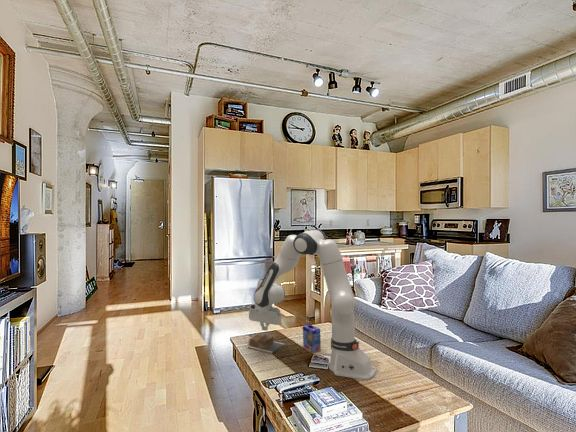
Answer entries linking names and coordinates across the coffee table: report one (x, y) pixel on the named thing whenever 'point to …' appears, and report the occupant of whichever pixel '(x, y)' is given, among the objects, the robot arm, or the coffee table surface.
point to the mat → (270, 349)
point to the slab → (261, 341)
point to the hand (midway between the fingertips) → (264, 330)
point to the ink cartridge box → (311, 338)
